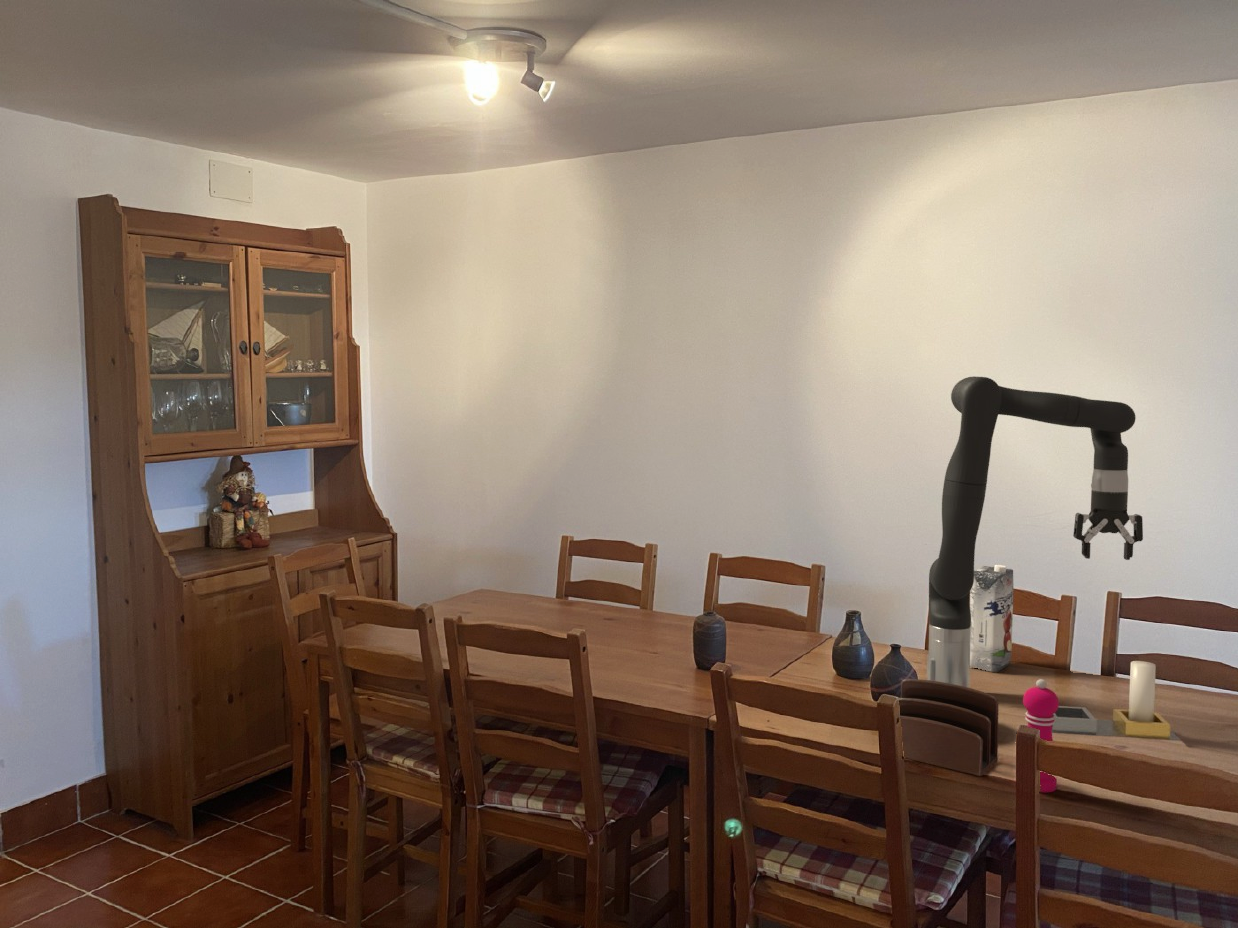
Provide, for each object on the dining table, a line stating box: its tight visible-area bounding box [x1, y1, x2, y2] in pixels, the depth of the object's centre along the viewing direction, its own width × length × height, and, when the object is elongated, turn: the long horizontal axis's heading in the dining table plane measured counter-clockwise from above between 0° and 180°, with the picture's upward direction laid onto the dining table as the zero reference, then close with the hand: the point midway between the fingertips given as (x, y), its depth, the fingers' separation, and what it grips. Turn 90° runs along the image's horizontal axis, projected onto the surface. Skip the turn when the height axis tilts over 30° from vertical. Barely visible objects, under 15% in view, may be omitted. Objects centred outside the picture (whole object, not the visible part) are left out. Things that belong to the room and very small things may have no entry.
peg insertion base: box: [1052, 705, 1181, 741], centre depth 207 cm, size 26×10×4 cm, turn 79°
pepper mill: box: [1022, 678, 1060, 793], centre depth 179 cm, size 7×7×20 cm
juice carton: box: [970, 564, 1014, 673], centre depth 253 cm, size 9×10×27 cm
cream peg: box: [1128, 660, 1157, 722], centre depth 205 cm, size 5×5×14 cm
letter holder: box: [896, 678, 999, 778], centre depth 194 cm, size 10×20×14 cm, turn 51°
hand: (1106, 558), depth 226 cm, fingers open, 8 cm apart
